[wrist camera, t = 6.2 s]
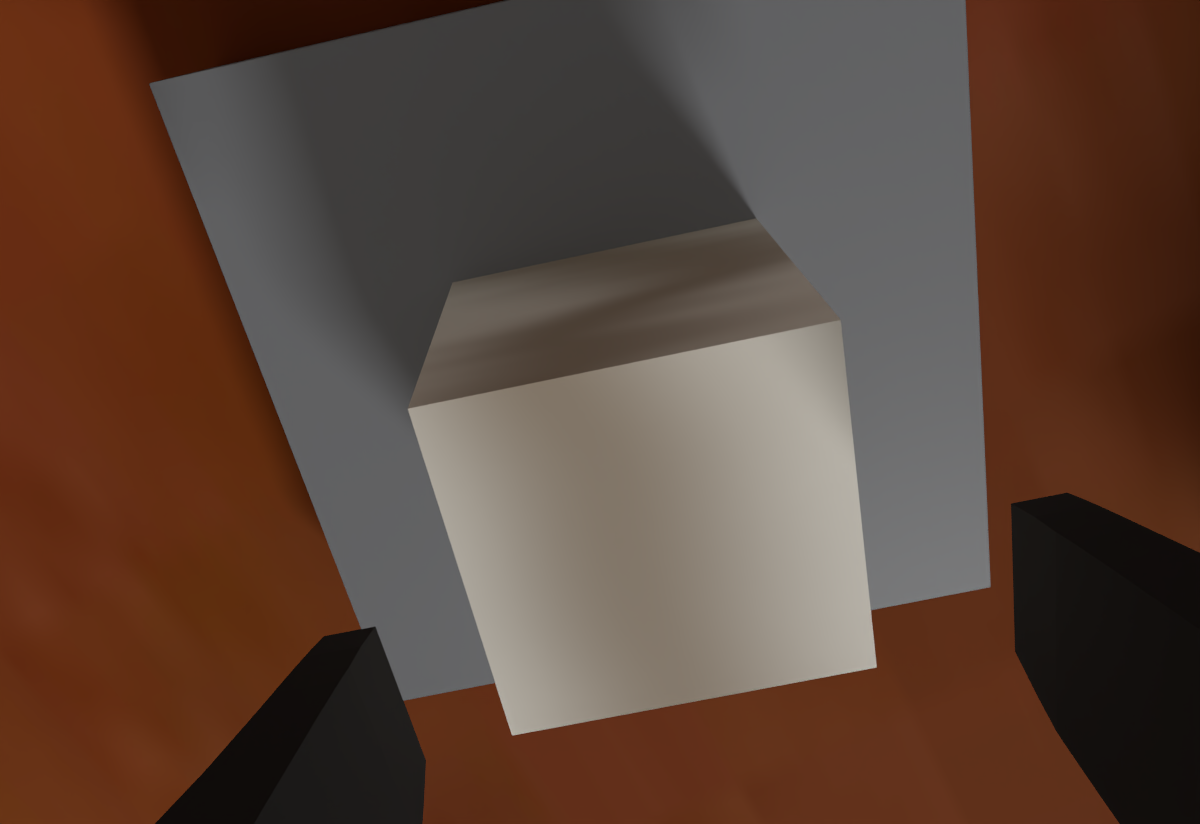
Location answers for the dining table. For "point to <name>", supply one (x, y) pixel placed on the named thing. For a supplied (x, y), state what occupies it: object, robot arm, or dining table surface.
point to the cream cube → (648, 476)
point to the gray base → (594, 242)
